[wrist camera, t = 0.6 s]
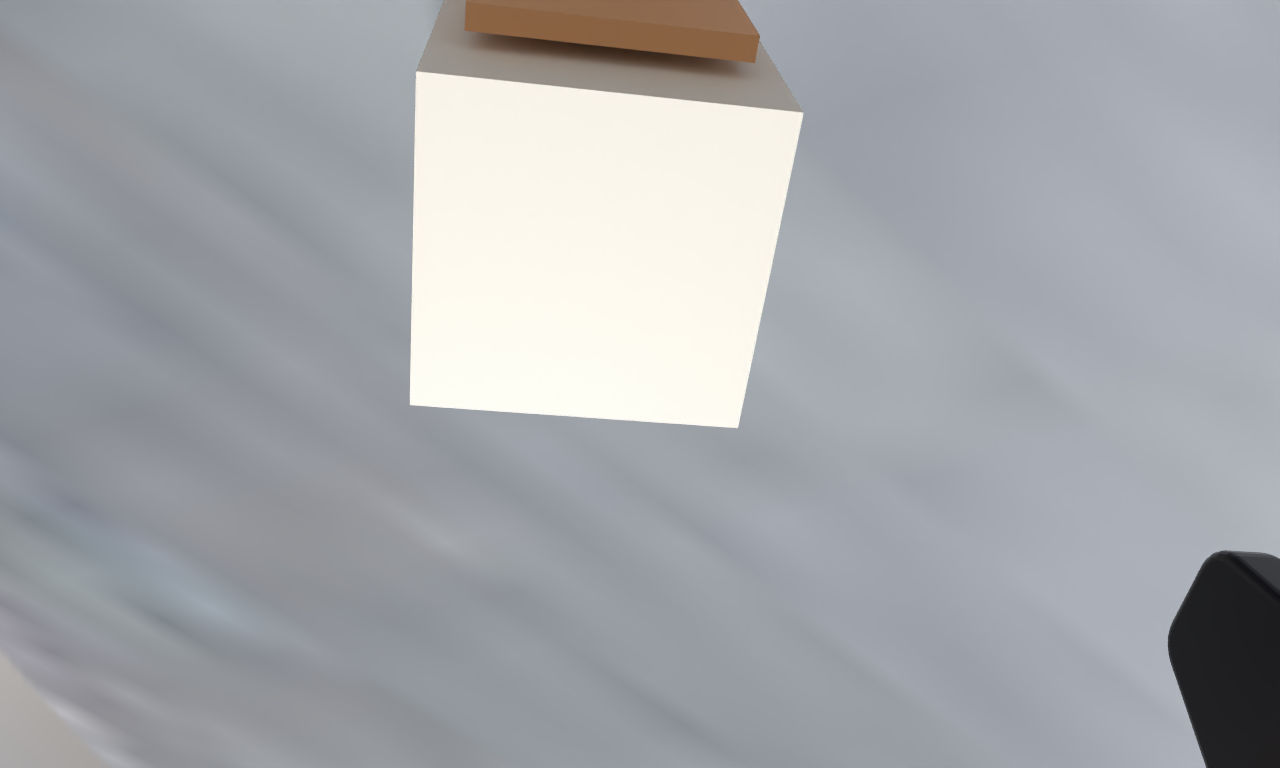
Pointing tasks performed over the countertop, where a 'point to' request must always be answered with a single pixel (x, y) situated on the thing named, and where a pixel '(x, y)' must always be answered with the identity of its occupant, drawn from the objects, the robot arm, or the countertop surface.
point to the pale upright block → (595, 207)
